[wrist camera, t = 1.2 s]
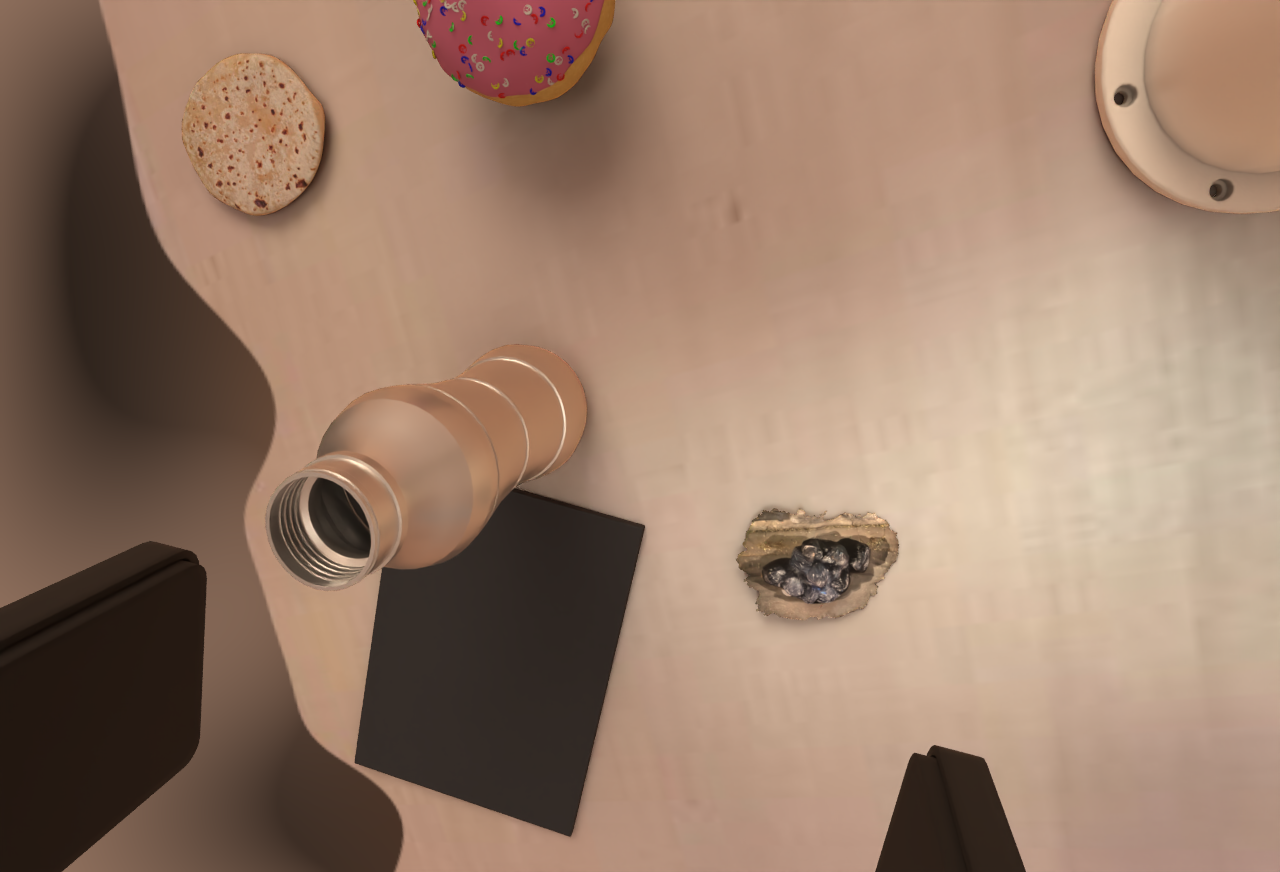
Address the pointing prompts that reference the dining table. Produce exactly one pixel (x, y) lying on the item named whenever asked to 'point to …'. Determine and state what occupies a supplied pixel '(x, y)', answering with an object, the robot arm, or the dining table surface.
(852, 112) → the dining table surface
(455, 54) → the cupcake
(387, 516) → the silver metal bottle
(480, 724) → the mat
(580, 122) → the dining table surface
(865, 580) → the mineral rock
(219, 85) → the flatbread
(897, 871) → the robot arm
